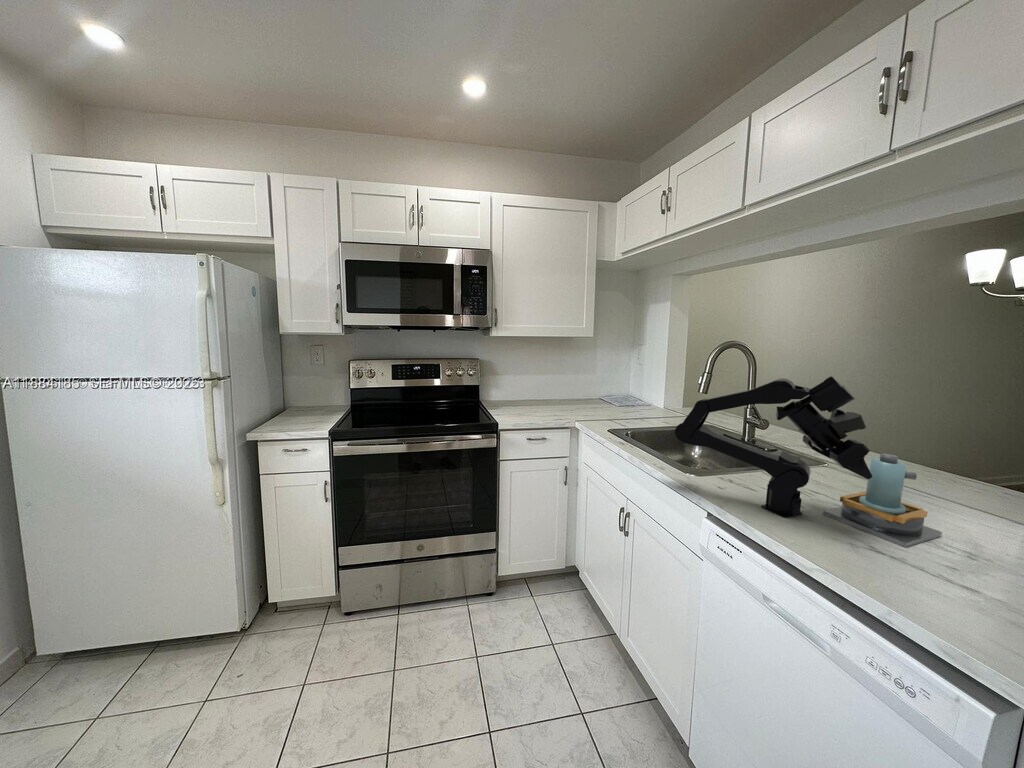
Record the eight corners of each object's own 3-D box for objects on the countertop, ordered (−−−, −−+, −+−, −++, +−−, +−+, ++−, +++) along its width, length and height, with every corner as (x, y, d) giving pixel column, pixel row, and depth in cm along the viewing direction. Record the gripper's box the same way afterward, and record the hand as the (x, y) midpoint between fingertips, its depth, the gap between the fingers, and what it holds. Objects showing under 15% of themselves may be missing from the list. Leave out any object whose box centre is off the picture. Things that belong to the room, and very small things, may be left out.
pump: (863, 511, 91) (871, 457, 89) (854, 498, 98) (862, 448, 96) (915, 520, 87) (925, 464, 85) (902, 507, 94) (911, 454, 92)
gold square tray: (823, 514, 98) (825, 494, 97) (857, 506, 103) (860, 487, 102) (905, 547, 83) (909, 524, 82) (941, 536, 88) (945, 514, 87)
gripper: (864, 407, 84) (920, 462, 82) (822, 395, 102) (867, 440, 100) (816, 439, 87) (869, 493, 85) (783, 422, 105) (827, 466, 103)
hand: (858, 471), depth 93 cm, fingers open, 9 cm apart
